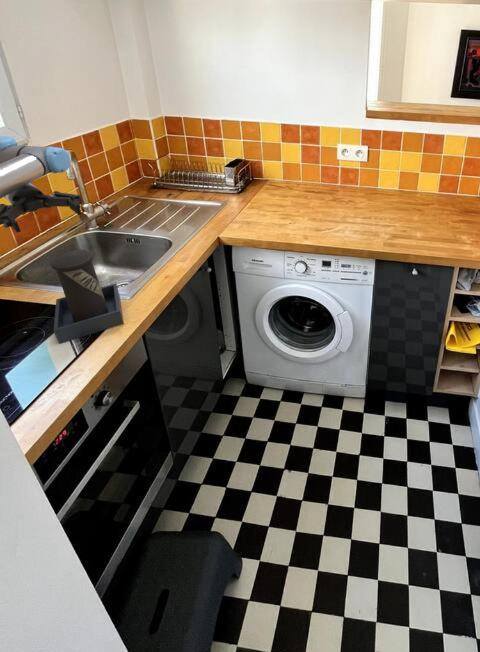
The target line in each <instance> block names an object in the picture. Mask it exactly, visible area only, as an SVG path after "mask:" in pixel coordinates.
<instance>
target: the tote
mask: <svg viewBox="0 0 480 652" xmlns="http://www.w3.org/2000/svg"><path fill="white" fill-rule="evenodd" d="M100 287H101V290H102V293H103V296H104V299H105V302H106V305H107V308H108V313H106V314H103V315H99V316H96V317H93V318H89V319H86V320H82V321H79V322H76V323H75V322H74V321H73V318H72V315H71V312H70V309H69V306H68V303H67V300H66V297H65V296H62V297H59V298H56V299H55V310H54V320H53V321H54V323H53V333H54V335H55V338H56V341H57V343H58V345H61V344H63V343H67V342H70V341H74V340H77V339H80V338H83V337H86V336H89V335H92V334H96V333H99V332H102V331H105V330H109V329H112V328H115V327H118V326H121V325H124V324H125V323H124V315H123V310H122V302H121V294H120V292H119V291H120V290H119V288H118V284H117V283H113V284H109V285H105V286H100Z"/></svg>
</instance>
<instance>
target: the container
mask: <svg viewBox="0 0 480 652" xmlns="http://www.w3.org/2000/svg"><path fill="white" fill-rule="evenodd" d="M93 260H94V254H93V252H91V251H90V250H86V249H73V250H69V251H66V252H63V253H61V254H59V255H57V256H56V257H55V258H53V260H52V261H51V263H50V266H51V268H52V269H53V270H54V271H56V273H57V276H58V279H59V282H60V284H61V287H62V291H63V294H64V297H66V300H67V303H68V306H69V309H70V312H71V315H72V318H73V321H74V322H75V323H76V322H79V321H82V320H86V319H89V318H93V317H96V316H99V315H103V314H106V313H108V308H107V305H106V302H105V299H104V296H103V293H102V290H101V287H102V286H101V284H100V281H99V279H98V275H97V272H96V270H95V266H94V263H93Z"/></svg>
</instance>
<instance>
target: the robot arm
mask: <svg viewBox="0 0 480 652" xmlns="http://www.w3.org/2000/svg"><path fill="white" fill-rule="evenodd" d="M71 161H72V160H71V157H70V154H69V152H68V151H67V150H66V149H64V148H62V147H57V146H56V147H55V146H50V145H49V146H42V145H41V146H40V145H39V146H38V145H37V146H36V145H21V144H20V145H18V142H17V141H16V139H15V138H14V137H11V136H0V200H1V199H2V198H5V200H6V201H8V202H9V203H10V204H5V203H0V225H3V227H4V228H5V229H7V228H12V229H13V230H14V231H15V232H16V233H21V232H22V231H21V228H20V225H19V223H18V221H17V220H16V219H18V218H19V217H20V216H24V215H27V213H33V212H37V211H38V210H40V209H51V208H52V207H66V208H67V207H69V209H70V210H71V211H72V212H74V213H75V214H77V216H81V215H83V214H82V211H81V205H83V204H84V202H83V199H82V195H81V194H74V193H67V192H60V191H58V190H54V191H52V194H49V195H48V194H45V193H43V191H41V190H40V188H38V187H36V186H35V185H34V184H32V183H33V182H35V181H36V180H38V179H41V178H42V177H45V176H47V175H49V174H51V173H53V174H61V173H62V174H63V173H66V172H67V171H68V169H69V168H70V166H71V164H72V163H71Z"/></svg>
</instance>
